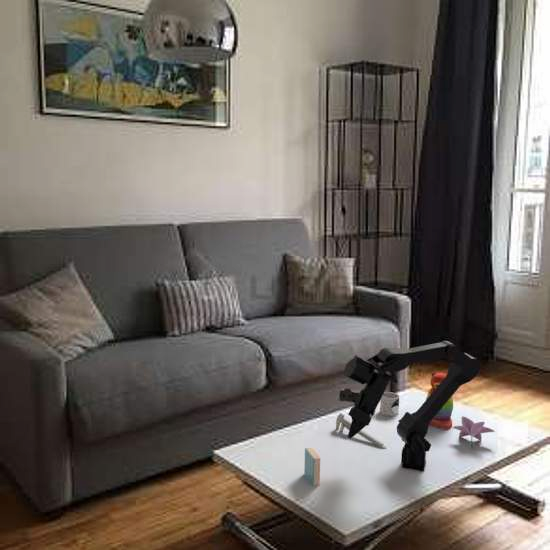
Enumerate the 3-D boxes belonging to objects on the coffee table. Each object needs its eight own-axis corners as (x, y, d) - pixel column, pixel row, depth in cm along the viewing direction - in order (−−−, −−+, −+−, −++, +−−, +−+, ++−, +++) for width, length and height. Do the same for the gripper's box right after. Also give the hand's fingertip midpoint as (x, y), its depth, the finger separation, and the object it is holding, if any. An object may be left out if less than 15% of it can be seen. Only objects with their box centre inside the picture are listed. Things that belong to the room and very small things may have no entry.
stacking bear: (417, 423, 220) (420, 374, 217) (428, 414, 228) (431, 366, 225) (447, 430, 214) (451, 380, 211) (457, 421, 222) (461, 372, 219)
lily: (498, 450, 202) (496, 420, 205) (482, 447, 194) (480, 415, 197) (463, 451, 209) (462, 421, 213) (446, 447, 201) (445, 417, 205)
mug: (394, 417, 224) (395, 400, 223) (377, 413, 227) (377, 396, 226) (404, 408, 232) (405, 391, 231) (387, 405, 236) (388, 388, 235)
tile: (310, 473, 183) (311, 447, 181) (319, 484, 176) (320, 458, 175) (304, 473, 182) (305, 448, 181) (312, 485, 176) (313, 458, 174)
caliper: (335, 429, 214) (336, 412, 212) (337, 429, 214) (338, 411, 213) (384, 449, 199) (385, 431, 198) (386, 448, 200) (387, 430, 199)
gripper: (352, 373, 192) (329, 418, 192) (345, 379, 173) (319, 429, 174) (385, 391, 189) (361, 437, 190) (381, 399, 171) (355, 449, 172)
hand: (349, 437), depth 181 cm, fingers closed
